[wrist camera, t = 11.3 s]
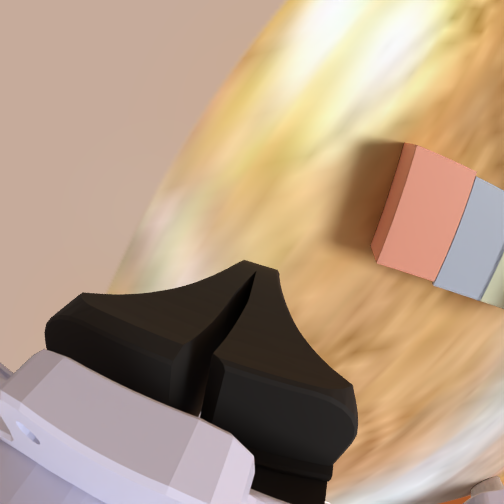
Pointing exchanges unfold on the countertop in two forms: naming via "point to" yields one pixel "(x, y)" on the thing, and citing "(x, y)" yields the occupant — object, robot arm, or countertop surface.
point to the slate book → (475, 243)
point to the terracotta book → (421, 212)
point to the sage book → (496, 287)
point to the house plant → (487, 486)
